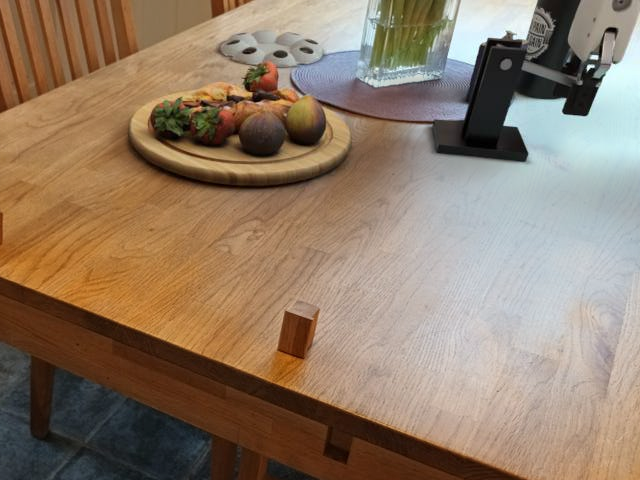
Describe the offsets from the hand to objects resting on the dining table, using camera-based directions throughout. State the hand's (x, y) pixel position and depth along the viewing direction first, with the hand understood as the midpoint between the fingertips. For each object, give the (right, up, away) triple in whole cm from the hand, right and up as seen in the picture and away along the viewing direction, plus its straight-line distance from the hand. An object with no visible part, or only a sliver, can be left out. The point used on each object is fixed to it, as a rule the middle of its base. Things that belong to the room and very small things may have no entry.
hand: (569, 104), depth 99 cm
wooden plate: (-45, -3, +6) cm, 45 cm away
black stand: (-10, -4, +6) cm, 12 cm away
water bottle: (+9, +11, +24) cm, 28 cm away
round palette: (-35, +24, +40) cm, 58 cm away
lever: (-5, +3, -1) cm, 6 cm away
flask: (-2, +8, +20) cm, 22 cm away
